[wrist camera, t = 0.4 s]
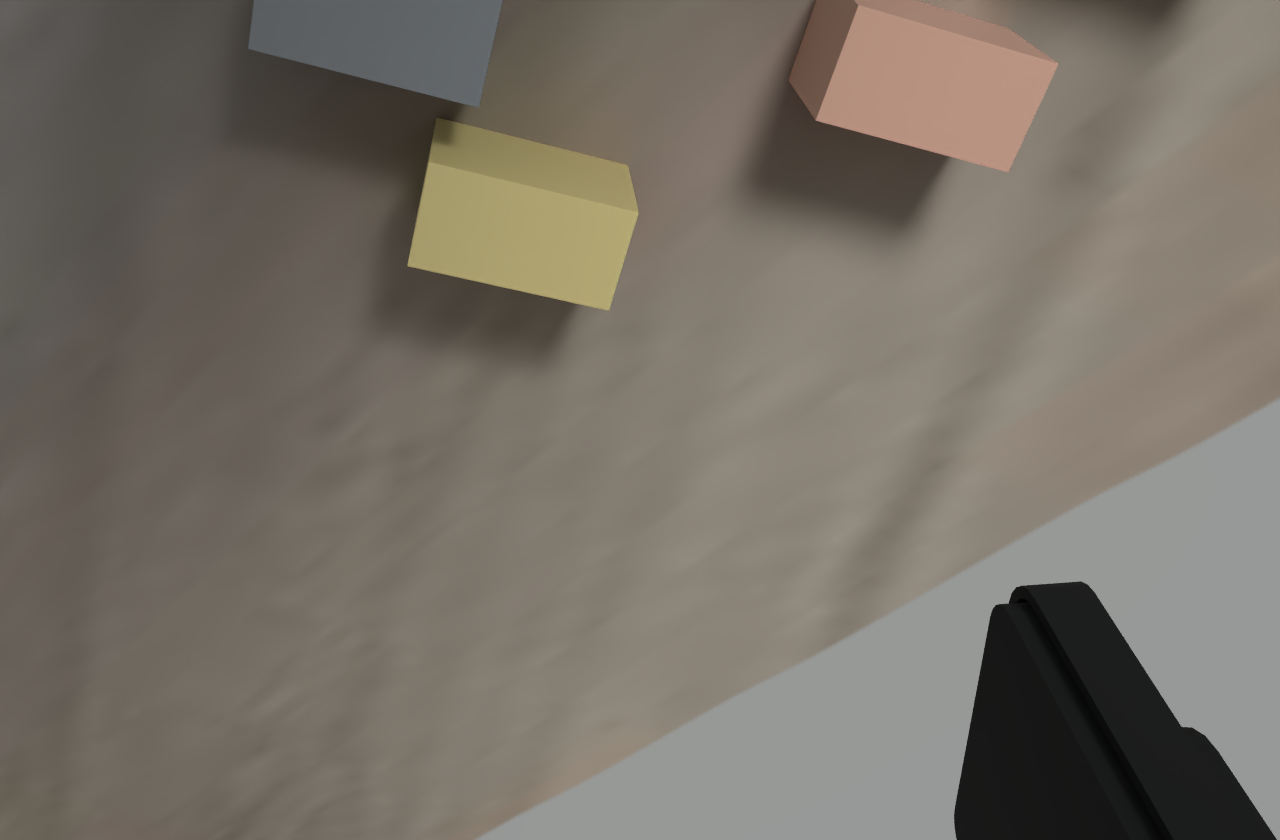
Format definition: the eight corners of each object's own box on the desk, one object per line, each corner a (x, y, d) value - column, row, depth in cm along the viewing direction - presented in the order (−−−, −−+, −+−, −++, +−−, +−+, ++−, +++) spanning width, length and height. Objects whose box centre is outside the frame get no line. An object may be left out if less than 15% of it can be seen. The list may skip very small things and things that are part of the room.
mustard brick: (436, 116, 36) (428, 161, 32) (627, 164, 37) (638, 212, 34) (417, 213, 37) (407, 266, 34) (600, 255, 39) (608, 310, 35)
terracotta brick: (824, -28, 34) (858, 5, 31) (1007, 27, 36) (1058, 63, 32) (787, 79, 36) (815, 120, 33) (963, 127, 37) (1008, 172, 34)
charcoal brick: (289, -106, 32) (263, -80, 29) (506, -44, 33) (505, -13, 30) (274, 12, 34) (247, 49, 30) (482, 66, 35) (478, 108, 32)
